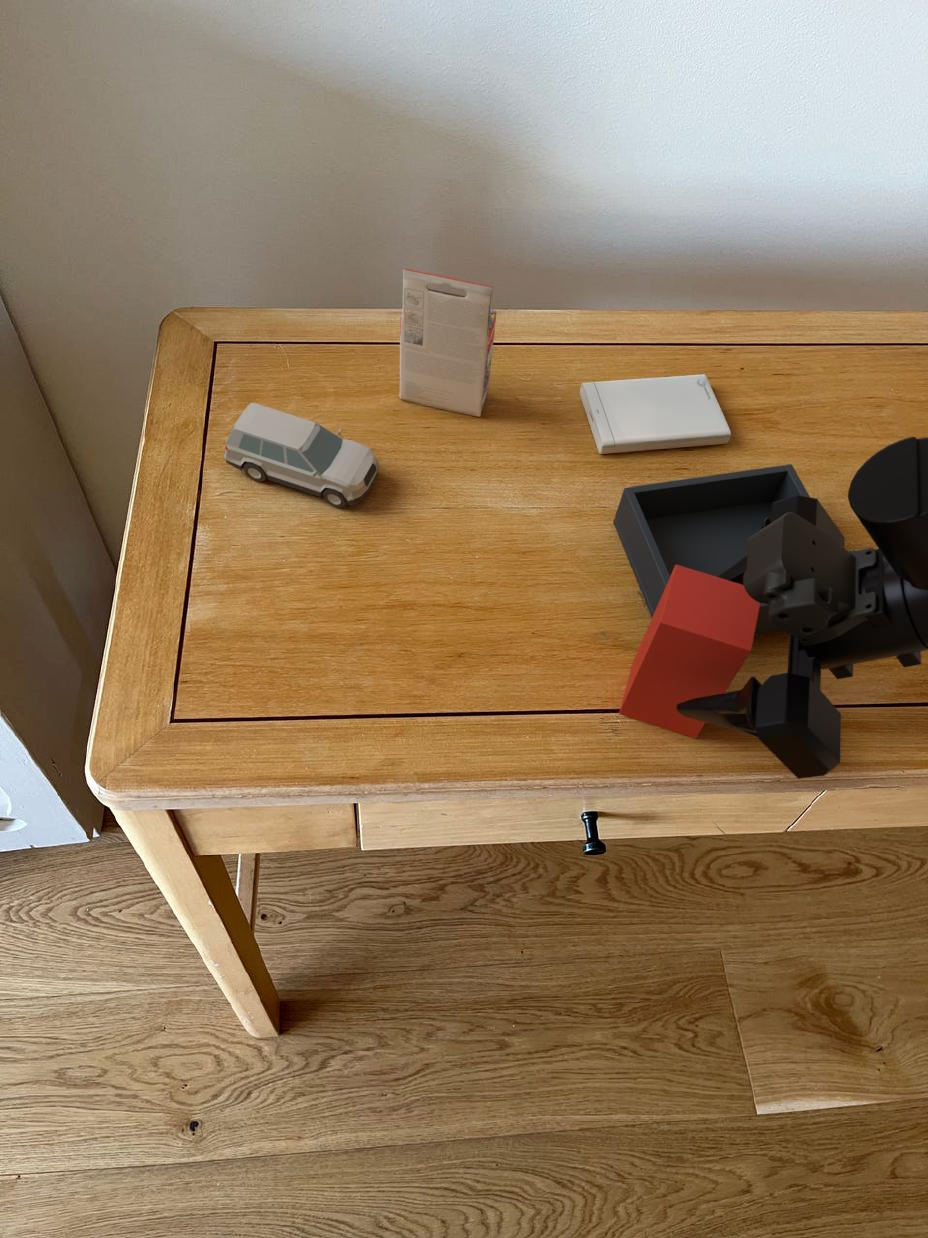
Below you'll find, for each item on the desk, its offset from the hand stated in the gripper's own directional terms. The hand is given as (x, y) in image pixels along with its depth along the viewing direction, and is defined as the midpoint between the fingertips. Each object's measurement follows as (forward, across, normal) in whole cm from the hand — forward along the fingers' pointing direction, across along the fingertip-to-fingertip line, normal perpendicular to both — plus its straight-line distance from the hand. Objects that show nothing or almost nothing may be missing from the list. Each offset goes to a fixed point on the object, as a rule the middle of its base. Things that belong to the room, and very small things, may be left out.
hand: (686, 653), depth 65 cm
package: (+5, 0, +6) cm, 8 cm away
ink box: (+23, -27, -12) cm, 37 cm away
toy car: (+29, -14, -18) cm, 37 cm away
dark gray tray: (+3, -14, +8) cm, 17 cm away
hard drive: (+9, -30, +2) cm, 32 cm away
